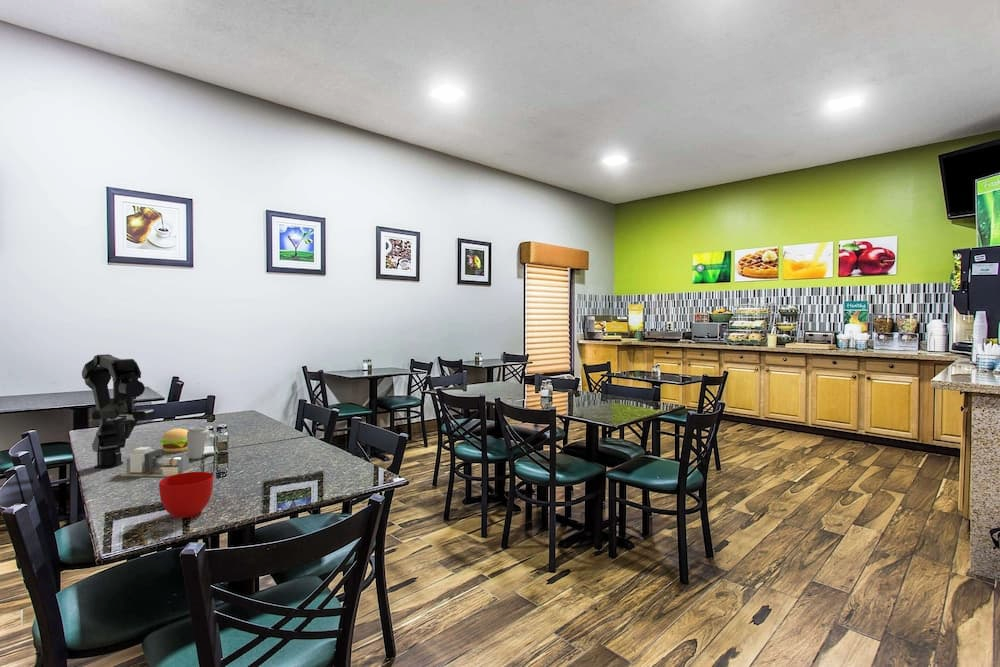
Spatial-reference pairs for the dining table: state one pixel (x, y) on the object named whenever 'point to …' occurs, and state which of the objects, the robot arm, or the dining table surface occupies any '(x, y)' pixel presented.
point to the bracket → (138, 459)
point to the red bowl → (186, 493)
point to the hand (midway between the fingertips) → (123, 438)
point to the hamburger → (174, 440)
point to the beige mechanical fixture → (163, 471)
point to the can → (196, 441)
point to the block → (149, 460)
